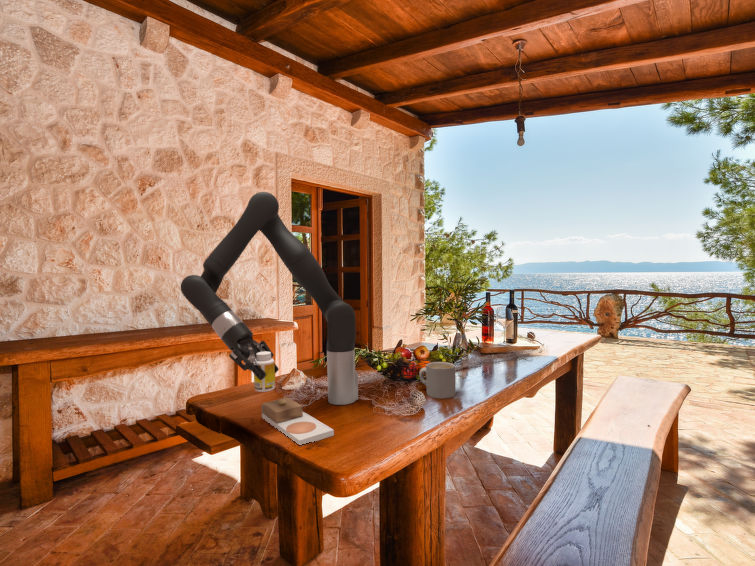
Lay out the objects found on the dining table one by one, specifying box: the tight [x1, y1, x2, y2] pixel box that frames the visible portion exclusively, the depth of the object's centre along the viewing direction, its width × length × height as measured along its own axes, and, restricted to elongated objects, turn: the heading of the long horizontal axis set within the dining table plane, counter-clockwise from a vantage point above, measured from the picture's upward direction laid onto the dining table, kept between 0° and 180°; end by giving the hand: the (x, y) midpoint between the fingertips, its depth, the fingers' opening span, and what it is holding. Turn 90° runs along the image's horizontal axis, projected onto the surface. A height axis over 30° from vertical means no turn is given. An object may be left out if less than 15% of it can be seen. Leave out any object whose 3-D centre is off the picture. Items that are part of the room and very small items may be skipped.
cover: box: [262, 397, 304, 423], centre depth 116 cm, size 8×10×4 cm
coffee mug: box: [418, 361, 457, 399], centre depth 138 cm, size 13×10×10 cm
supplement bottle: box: [253, 351, 276, 393], centre depth 109 cm, size 6×6×10 cm
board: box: [261, 404, 335, 446], centre depth 111 cm, size 10×25×4 cm, turn 38°
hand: (270, 374), depth 109 cm, fingers closed on supplement bottle, 5 cm apart
